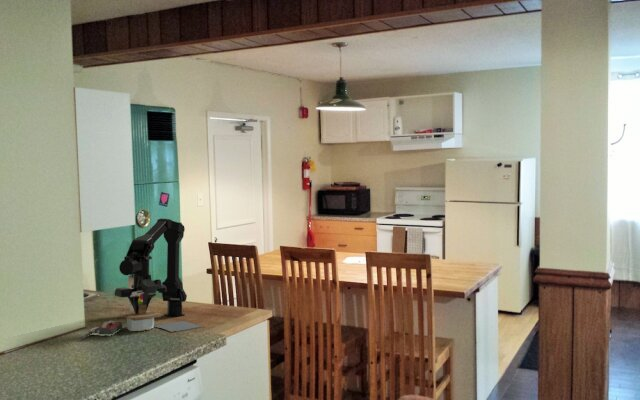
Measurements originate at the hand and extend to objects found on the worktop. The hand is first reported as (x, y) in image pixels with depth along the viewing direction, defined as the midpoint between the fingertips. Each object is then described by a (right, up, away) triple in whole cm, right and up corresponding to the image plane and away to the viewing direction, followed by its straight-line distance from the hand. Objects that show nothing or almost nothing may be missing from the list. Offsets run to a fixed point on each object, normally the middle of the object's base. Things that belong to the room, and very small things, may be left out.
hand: (140, 312), depth 217 cm
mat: (+13, -6, +4) cm, 15 cm away
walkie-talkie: (-11, -7, -10) cm, 16 cm away
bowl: (0, -6, 0) cm, 6 cm away
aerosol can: (-9, -6, +22) cm, 25 cm away
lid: (0, -1, 0) cm, 1 cm away
